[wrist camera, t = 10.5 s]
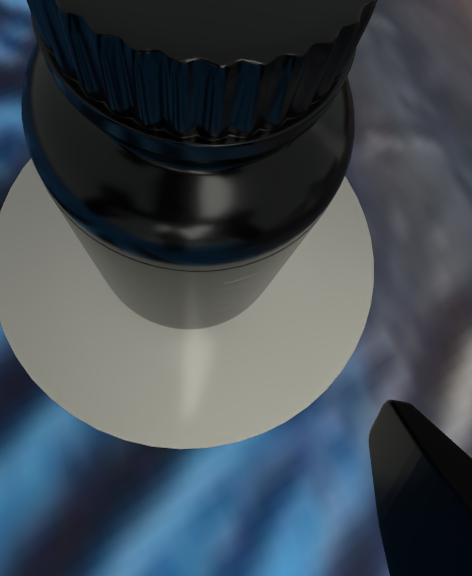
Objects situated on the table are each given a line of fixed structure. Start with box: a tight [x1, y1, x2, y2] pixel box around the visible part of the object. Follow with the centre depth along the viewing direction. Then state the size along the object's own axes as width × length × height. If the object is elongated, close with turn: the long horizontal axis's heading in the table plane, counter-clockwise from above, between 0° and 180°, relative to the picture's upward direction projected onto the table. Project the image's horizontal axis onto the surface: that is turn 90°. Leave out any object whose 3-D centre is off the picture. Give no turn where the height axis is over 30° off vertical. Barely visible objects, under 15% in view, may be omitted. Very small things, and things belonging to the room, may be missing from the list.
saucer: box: [0, 158, 374, 449], centre depth 17 cm, size 15×15×1 cm
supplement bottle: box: [21, 0, 377, 330], centre depth 11 cm, size 7×7×12 cm
